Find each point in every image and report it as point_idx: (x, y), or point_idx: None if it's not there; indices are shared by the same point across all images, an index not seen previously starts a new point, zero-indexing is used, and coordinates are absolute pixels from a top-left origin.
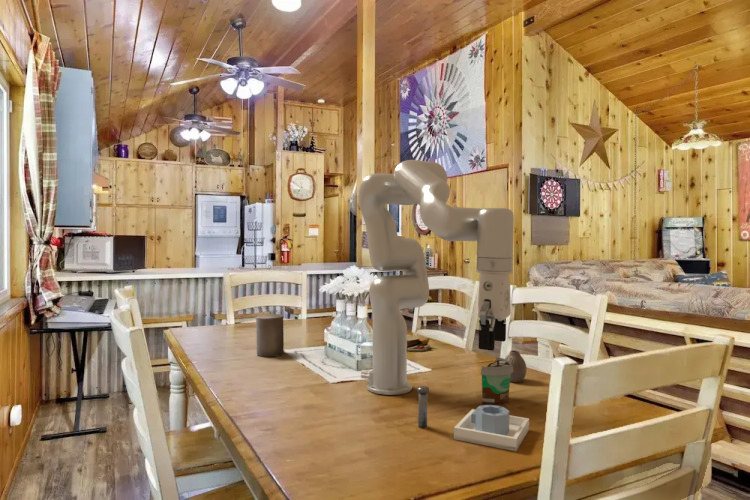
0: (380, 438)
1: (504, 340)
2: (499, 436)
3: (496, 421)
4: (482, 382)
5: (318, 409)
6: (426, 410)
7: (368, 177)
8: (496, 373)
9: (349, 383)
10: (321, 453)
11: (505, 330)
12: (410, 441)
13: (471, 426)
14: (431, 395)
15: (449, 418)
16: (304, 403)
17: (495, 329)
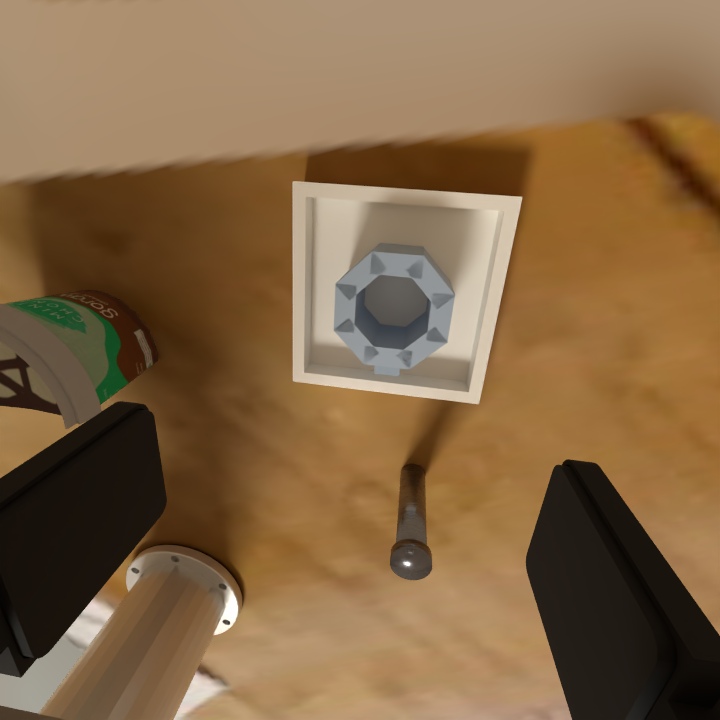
0: (526, 541)
1: (135, 409)
2: (508, 259)
3: (449, 285)
4: (114, 392)
5: (398, 673)
6: (416, 498)
7: None
8: (66, 359)
9: (205, 658)
10: None
11: (47, 464)
12: (524, 480)
13: None
14: (173, 495)
15: (321, 424)
16: (375, 699)
17: (87, 561)
